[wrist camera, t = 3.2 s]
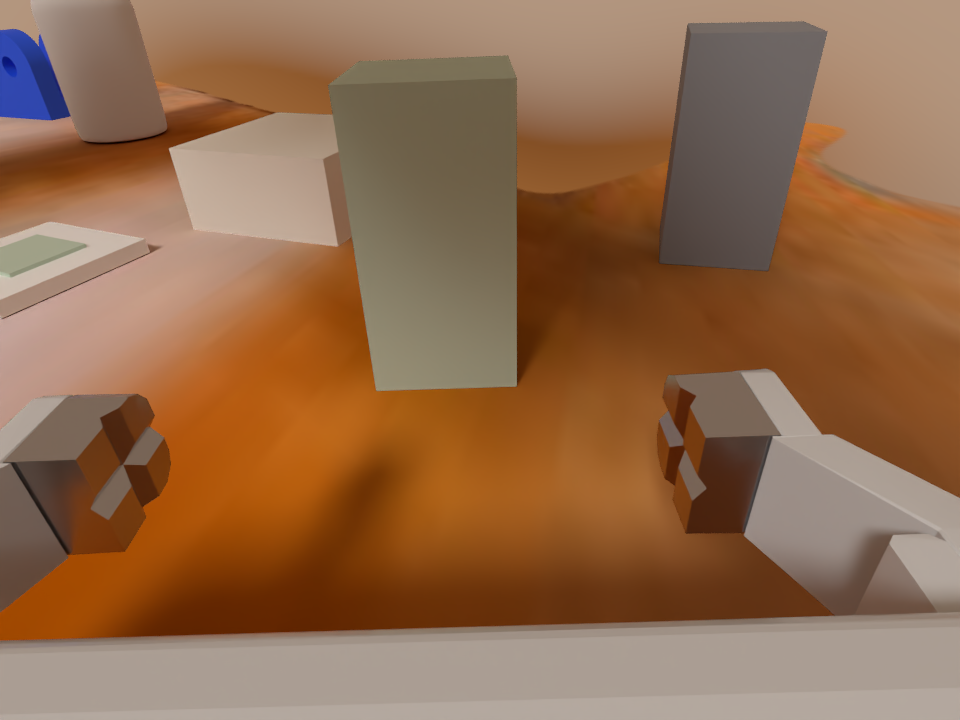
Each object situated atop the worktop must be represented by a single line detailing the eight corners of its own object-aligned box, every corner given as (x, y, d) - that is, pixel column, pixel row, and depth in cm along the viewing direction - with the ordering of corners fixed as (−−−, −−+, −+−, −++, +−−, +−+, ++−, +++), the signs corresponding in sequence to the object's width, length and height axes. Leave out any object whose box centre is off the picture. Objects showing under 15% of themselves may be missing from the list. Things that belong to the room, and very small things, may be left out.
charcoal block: (659, 263, 30) (691, 33, 24) (660, 227, 34) (687, 23, 28) (768, 271, 28) (827, 31, 23) (755, 232, 32) (803, 21, 27)
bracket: (115, 107, 74) (87, 24, 69) (52, 121, 67) (15, 30, 62) (19, 102, 80) (-13, 25, 75) (-47, 114, 74) (-87, 31, 69)
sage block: (376, 390, 21) (327, 84, 16) (392, 322, 26) (358, 61, 20) (516, 386, 21) (516, 77, 16) (510, 318, 25) (507, 55, 20)
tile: (-98, 290, 30) (-109, 272, 29) (55, 234, 36) (48, 218, 35) (2, 318, 27) (-9, 298, 26) (150, 252, 33) (143, 235, 32)
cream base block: (194, 233, 36) (168, 148, 33) (292, 185, 44) (277, 112, 41) (338, 251, 33) (322, 159, 30) (416, 195, 41) (409, 118, 38)
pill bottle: (187, 127, 61) (136, -51, 53) (127, 146, 55) (59, -53, 47) (125, 125, 63) (67, -47, 55) (60, 143, 57) (-16, -48, 49)
